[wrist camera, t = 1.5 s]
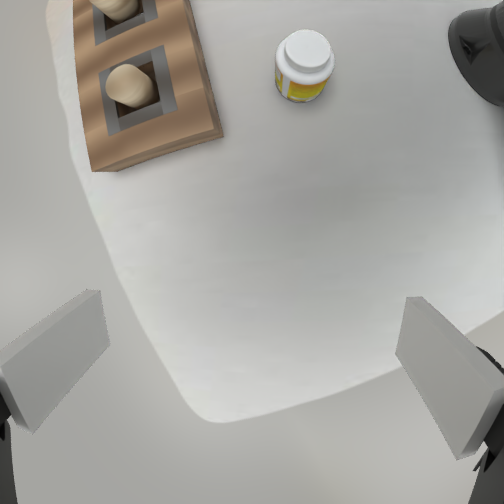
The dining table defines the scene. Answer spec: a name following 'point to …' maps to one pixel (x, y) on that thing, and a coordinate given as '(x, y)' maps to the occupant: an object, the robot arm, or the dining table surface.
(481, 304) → the dining table surface
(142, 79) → the short peg
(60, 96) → the dining table surface
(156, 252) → the dining table surface
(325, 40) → the supplement bottle
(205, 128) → the socket block
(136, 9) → the beige round peg
